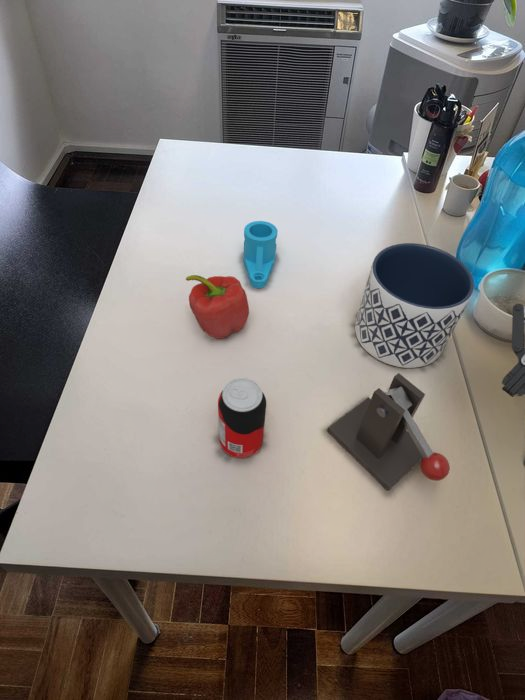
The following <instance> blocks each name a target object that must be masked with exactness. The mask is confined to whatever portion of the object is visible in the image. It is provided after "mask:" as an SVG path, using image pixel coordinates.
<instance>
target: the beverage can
mask: <svg viewBox="0 0 525 700" xmlns="http://www.w3.org/2000/svg"><path fill="white" fill-rule="evenodd" d="M217 413H218V414H217V415H218V416H217V417H218V418H217V419H218V440H219V441H218V442H219V444H220V447H221V449H222V450H223V451H224V452H225V453H226V454H228V455H229V456H231V457H234V458H238V459H244V458H245V459H246V458H249V457H252V456H254V455H255V454H257V452H258V451H259V450H260V449H261V448H262V445H263V442H264V433H265V432H264V431H265V423H266V422H265V421H266V413H267V399H266V395H265V393H264V392H263V390H262V388H261V386H260V385H259V384H258V383H257V382H256V381H255V380H252V379H249V378H246V377H245V378H242V377H241V378H235V379H232V380H230V381H229V382H228V383H227V384H225V386H224V387H223V389H222V390H221V392H220V394H219V396H218V399H217Z"/></svg>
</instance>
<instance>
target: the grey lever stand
mask: <svg viewBox="0 0 525 700" xmlns="http://www.w3.org/2000/svg"><path fill="white" fill-rule="evenodd" d="M397 387H402V388H403V390H404V391H405V393H406V395H407V396H408V398H409V400H410V401H411V403H412V405H411V406H410V407H409V408H408V409H407V410H408V411H409V413H410V415H411V416H412V418H413V419H414V416H415V414H416V413H417V411H418V409H419V408H420V406H421V404H422V401H423V400H424V397H425V396H426V393H424V392H423V391H422V390H421V389H420V388H418V387H417V386H416V385H414V384H413V383H412V382H411V381H409V380H408V379H407V378H405V376H404V375H402V374H401V373H400V372H398V373H397V374H395V375H394V376H393V378H392V381H391V382H390V385H389V387H388V390H390V389H393V388H397ZM388 390H387V391H388ZM385 393H386V392H384V391H383V390H382V389H381V388H379V387H378V388H377V389H376V390H374V391H373V393H372V396H371V397H366V398H365V399H364V400H362V401H361V402H360V403H359V404H357V405H355V406H354V407H353V408H352V409H351V410H349V411H348V412H346V413H345V414H344V415H343V416H341V417H340V418H339V419H337V420H336V421H335V422H333V423H332V424H331V425H329V426H328V427H327V430H326V432H327V433H328V434H329V435H330V436H331V438H333V439H334V440H335V442H337V443H338V444H339V445H340V446H341V447H342V448H343V449H344V450H345V451H346V452H347V453H348V454H349V455H350V456H351V457H352V458H353V459H354V460H355V461H356V462H357V463H358V464H359V465H360V466H361V467H362V468H363V469H365V471H367V473H369V475H370V476H372V477H373V479H375V480H376V481H377V482H378V483H379V484H380V485H381V486H382V487H383V488H384V489H385V490H386V491H387V492H388V491H389V490H391V489H392V488H393V487H394V486H395V485H396V484H397V483H398V482H400V481H401V480H402V479H403V478H404V477H405V476H406V475H408V473H409V472H410V471H411V470H413V469H414V468H415V467H416V466H417V465H418V464H419V463H421V460H422V458H423V456H422V455H421V453H420V451H419V450H418V448H417V446H416V445H415V443H414V441H413V439H412V438H411V436H410V434H409V433H408V431H407V429H406V428H405V426H404V424H403V423H402V421H401V418H402V416H403V414H404V412H405V410H404V409H403V408H402V407H401V406H400V405H398V404H397V403H396V402H395V401H394V400H393V399H391V398H390V397H389V396H388V395H387V394H385Z"/></svg>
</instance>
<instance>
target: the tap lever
mask: <svg viewBox="0 0 525 700" xmlns="http://www.w3.org/2000/svg"><path fill="white" fill-rule="evenodd" d="M384 393H385V394H387V395H388V396H389V397H390V398H391V399H393V400H394V401H395V402H396V403H397V404H398V405H400V406H401V407H402V408H403V409H404V410H405V412H404V414H403V416H402V418H401V421H402V423H403V424H404V426H405V428H406V431H408V433H409V434H410V436H411V438H412V439H413V441H414V443H415V445H416V446H417V448H418V450H419V451H420V453H421V455H422V456H423V458H422V460H421V461H420V471H421V473H422V474H423V476H424V477H425V478H426V479H428V480H430V481H434V482H439V481H442V480H444V479H446V478H447V477H448V475H449V473H450V470H451V469H450V468H451V466H450V463H449V460H448V458H446V456H445V455H443V454H442V453H440V452H434V451H433V450H432V448H431V447H430V445H429V443H428V441H427V440H426V437H424V435H423V432H421V429H420V428H419V426H418V424H417V423H416V421H415V420H414V417H413V418H412V416H411V415H410V413H409V411H408V410H407V409H408V408H409V407H410V406H411V405H412V403H411V401H410V400H409V398H408V396H407V395H406V393H405V391H404V390H403V388H402V387H397V388H393V389H390V390H386V391H385V392H384Z"/></svg>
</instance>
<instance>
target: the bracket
mask: <svg viewBox="0 0 525 700" xmlns="http://www.w3.org/2000/svg"><path fill="white" fill-rule="evenodd" d="M243 238H244V241H243V258H242V260H243V264H244V267H245V271H246V274H247V277H248V281H249V285H250V286H251V287H252V288H254V289H262V288H265V287H266V286H267V285H268V281H269V279H270V276H271V274H272V272H273V269H274V266H275V263H276V254H277V253H276V252H277V238H278V228H277V227H276V225H275V224H273V223H271V222H269V221H265V220H264V221H263V220H254V221H252V222H249V223H247V224H246V225H245V226H244V228H243Z"/></svg>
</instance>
